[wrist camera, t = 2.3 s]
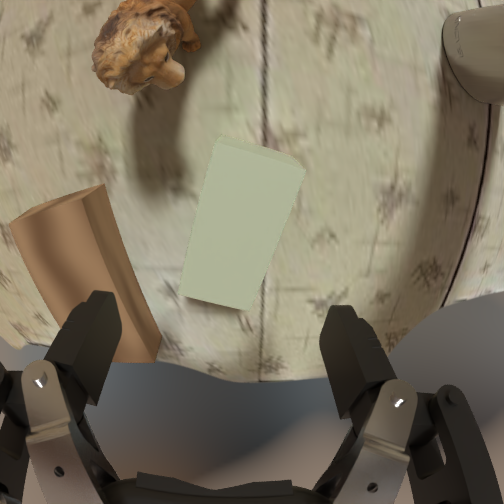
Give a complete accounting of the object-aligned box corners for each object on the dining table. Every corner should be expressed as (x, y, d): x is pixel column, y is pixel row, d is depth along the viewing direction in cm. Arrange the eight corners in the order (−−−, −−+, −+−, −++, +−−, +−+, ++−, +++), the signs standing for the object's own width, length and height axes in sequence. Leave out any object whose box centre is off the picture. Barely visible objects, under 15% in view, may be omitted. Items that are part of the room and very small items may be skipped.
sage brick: (290, 155, 18) (306, 170, 14) (248, 271, 23) (249, 311, 19) (222, 134, 18) (215, 141, 13) (189, 256, 22) (177, 294, 18)
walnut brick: (106, 182, 19) (81, 198, 15) (162, 333, 27) (154, 362, 23) (34, 206, 19) (8, 224, 16) (94, 335, 27) (82, 360, 23)
